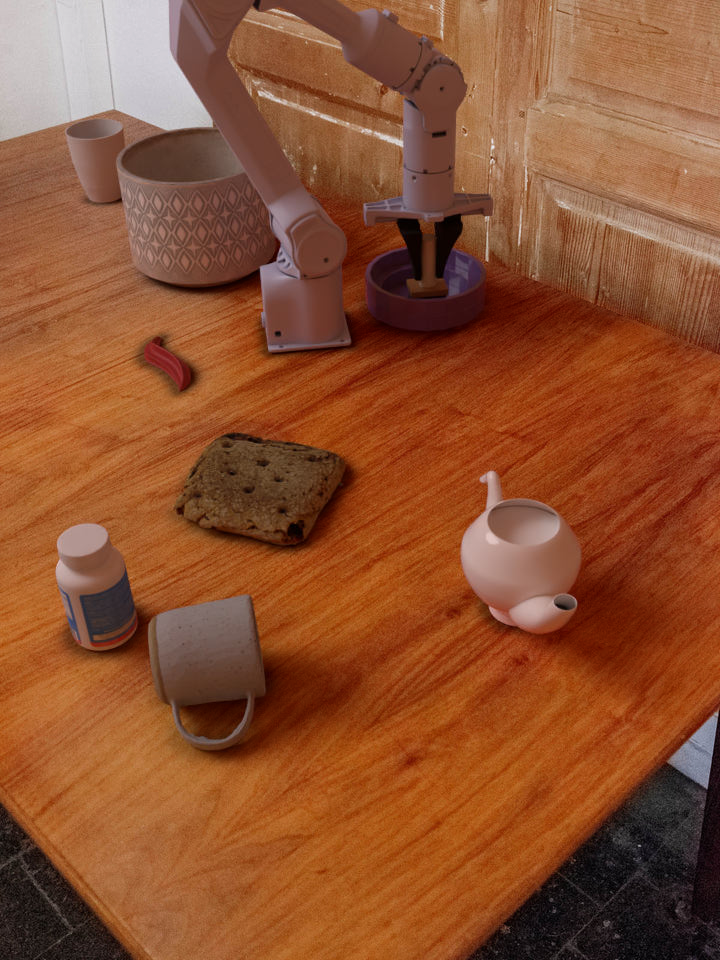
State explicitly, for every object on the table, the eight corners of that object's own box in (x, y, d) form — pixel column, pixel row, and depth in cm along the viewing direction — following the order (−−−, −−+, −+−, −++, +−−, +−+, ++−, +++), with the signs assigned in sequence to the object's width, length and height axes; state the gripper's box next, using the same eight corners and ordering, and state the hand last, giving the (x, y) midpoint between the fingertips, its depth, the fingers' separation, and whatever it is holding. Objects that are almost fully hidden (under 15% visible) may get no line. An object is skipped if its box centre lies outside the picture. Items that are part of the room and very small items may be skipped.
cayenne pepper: (141, 340, 127) (139, 326, 126) (181, 335, 128) (179, 320, 127) (150, 395, 118) (148, 380, 117) (193, 389, 119) (191, 374, 118)
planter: (129, 239, 149) (111, 135, 140) (264, 222, 152) (255, 120, 143) (139, 303, 134) (120, 192, 126) (288, 283, 137) (280, 173, 129)
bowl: (375, 340, 126) (375, 306, 123) (359, 283, 137) (358, 250, 134) (496, 329, 127) (498, 294, 125) (470, 273, 138) (471, 240, 136)
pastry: (209, 576, 95) (205, 550, 93) (145, 471, 107) (141, 446, 106) (384, 514, 101) (384, 489, 99) (304, 421, 113) (303, 397, 112)
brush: (411, 313, 129) (411, 245, 124) (406, 300, 132) (406, 232, 127) (447, 310, 130) (450, 241, 124) (442, 296, 132) (444, 229, 127)
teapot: (530, 522, 100) (538, 440, 94) (617, 685, 84) (632, 598, 78) (429, 539, 98) (430, 456, 93) (498, 708, 83) (505, 621, 77)
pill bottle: (150, 613, 92) (132, 524, 86) (118, 659, 88) (97, 569, 82) (92, 600, 93) (71, 511, 87) (59, 644, 89) (34, 554, 83)
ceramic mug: (158, 657, 88) (143, 589, 83) (259, 642, 89) (251, 573, 84) (163, 765, 79) (148, 696, 75) (275, 747, 80) (267, 678, 76)
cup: (139, 185, 163) (129, 118, 157) (125, 207, 157) (114, 139, 151) (87, 184, 164) (74, 118, 158) (70, 206, 158) (57, 139, 152)
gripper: (369, 183, 116) (371, 297, 125) (502, 172, 118) (495, 286, 126) (359, 158, 122) (362, 269, 130) (487, 148, 123) (481, 258, 131)
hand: (427, 275), depth 128 cm, fingers closed on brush, 2 cm apart
